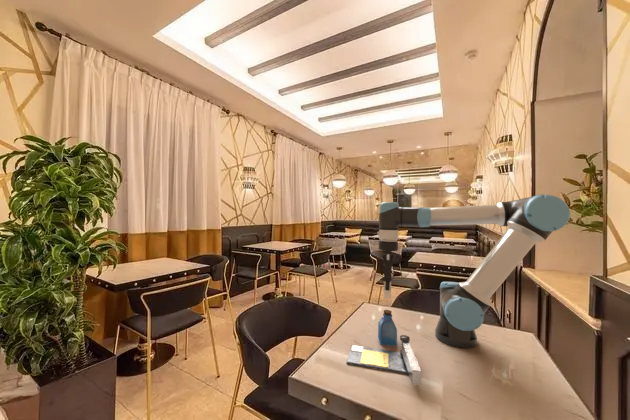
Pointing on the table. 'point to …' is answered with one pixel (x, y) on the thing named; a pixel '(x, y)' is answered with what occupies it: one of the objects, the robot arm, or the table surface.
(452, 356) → the table surface
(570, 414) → the table surface
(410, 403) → the table surface
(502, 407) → the table surface
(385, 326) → the perfume bottle
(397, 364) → the tray
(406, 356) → the swing arm
